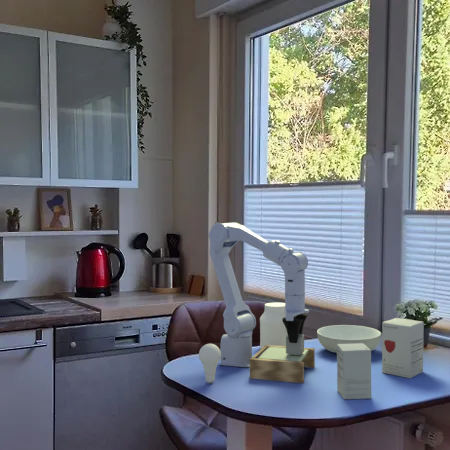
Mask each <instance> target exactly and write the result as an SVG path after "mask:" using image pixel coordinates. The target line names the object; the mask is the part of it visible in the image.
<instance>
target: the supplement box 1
mask: <svg viewBox="0 0 450 450" xmlns="http://www.w3.org/2000/svg"><path fill="white" fill-rule="evenodd" d="M336 370H337V371H336V372H337V373H336V377H337V378H336V381H337V382H336V385H337V389H336V390H337V391H338V393H339V395H340V397H341V398H342V399H343V400H361V399H370V400H371V399H372V351H371V350H370V349H369V348H368V347H367V346H366V345H365V344H363V343H356V344H337V353H336Z"/></svg>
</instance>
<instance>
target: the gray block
mask: <svg viewBox="0 0 450 450" xmlns="http://www.w3.org/2000/svg"><path fill="white" fill-rule="evenodd" d="M304 348H305V334H304V333H302V334H299V335H298V341H297V343H290V342H289V338H288V335H287V336H286V354H296V355H301V354H302V353H303V352H304Z"/></svg>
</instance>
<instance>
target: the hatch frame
mask: <svg viewBox="0 0 450 450" xmlns="http://www.w3.org/2000/svg"><path fill="white" fill-rule="evenodd" d="M268 347H278V348H286V346H274V345H265V346H264V347H263V348H262V349H261V348H260V349H259V350H258V351H257V352H255V354H254V355H252V358H250V367H249V379H253V380H254V379H255V380H264V381H272V382H273V381H276V382H284V383H285V382H287V383H296V384H304V383H305V368H310V369H311V368H313V369H314V368H315V367H316V365H315V363H316V362H315V361H316V359H315V357H316V356H315V355H316V354H315V352H316V351H315V349H316V348H314V347H313V348H312V347H304V349H305V350H308V353H307V355H306V356H305V357H304V358H303V360H302V361H301V362H296V361H284V360H272V359H259V358H257V357H258V356H259V355H261V354H262V353H263V352H264V351H265V350H266V349H267V348H268Z"/></svg>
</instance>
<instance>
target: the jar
mask: <svg viewBox="0 0 450 450" xmlns="http://www.w3.org/2000/svg"><path fill="white" fill-rule="evenodd" d="M284 309H285V302H278V301H277V302H267V303H264V311H263V313H262V314H261V316H260V317H259V324H260V325H259V329H260V330H259V333H260V337H259V338H260V339H259V340H260V341H259V342H260V343H259V348H260V350H261V349H262V348H263V347H264V346H265V345H274V346H286V336H287V335H288V334H287V330H286V327H285V325H284V323H283V321H282V319H283V318H286V314H285V312H284Z"/></svg>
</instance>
